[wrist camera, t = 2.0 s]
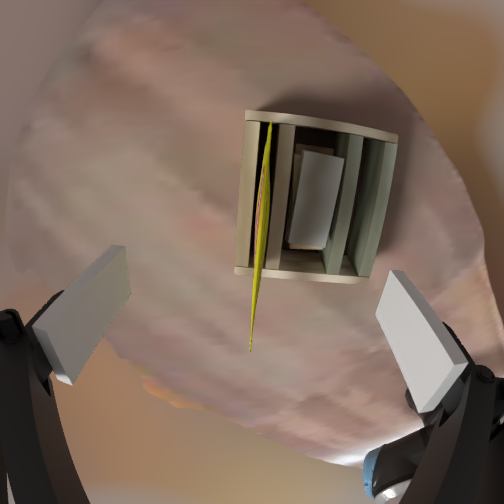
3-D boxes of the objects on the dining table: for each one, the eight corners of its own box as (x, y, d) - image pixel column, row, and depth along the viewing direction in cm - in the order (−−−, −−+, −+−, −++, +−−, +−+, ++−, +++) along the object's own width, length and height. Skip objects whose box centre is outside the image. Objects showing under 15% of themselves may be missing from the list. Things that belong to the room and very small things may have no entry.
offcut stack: (331, 148, 32) (345, 152, 26) (318, 239, 37) (327, 259, 31) (292, 142, 32) (297, 145, 26) (281, 235, 37) (284, 255, 31)
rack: (378, 133, 30) (398, 134, 25) (354, 262, 38) (367, 284, 33) (249, 113, 31) (245, 110, 25) (238, 252, 38) (234, 274, 33)
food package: (264, 126, 31) (261, 119, 13) (273, 127, 31) (284, 121, 13) (254, 244, 38) (242, 352, 19) (262, 244, 38) (258, 353, 19)
